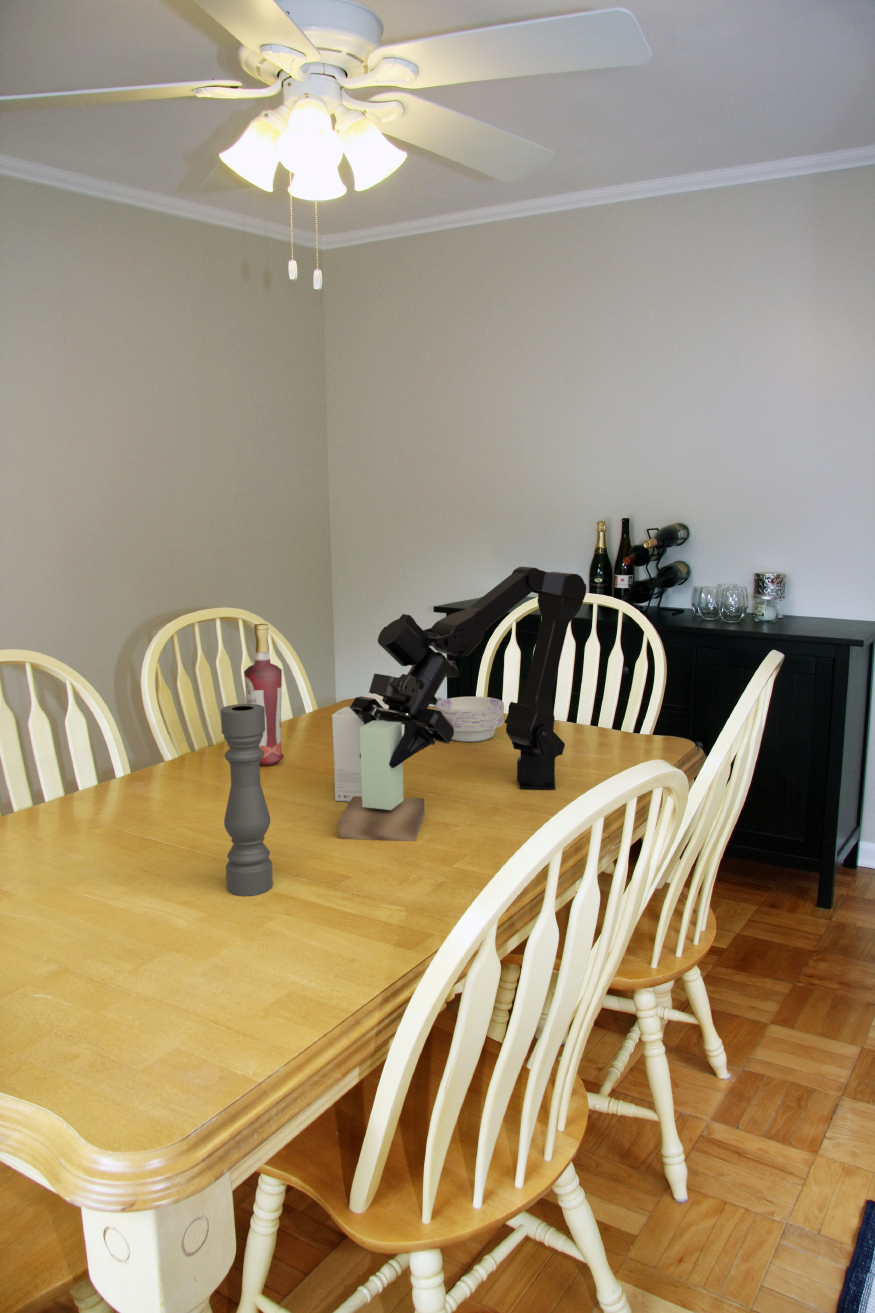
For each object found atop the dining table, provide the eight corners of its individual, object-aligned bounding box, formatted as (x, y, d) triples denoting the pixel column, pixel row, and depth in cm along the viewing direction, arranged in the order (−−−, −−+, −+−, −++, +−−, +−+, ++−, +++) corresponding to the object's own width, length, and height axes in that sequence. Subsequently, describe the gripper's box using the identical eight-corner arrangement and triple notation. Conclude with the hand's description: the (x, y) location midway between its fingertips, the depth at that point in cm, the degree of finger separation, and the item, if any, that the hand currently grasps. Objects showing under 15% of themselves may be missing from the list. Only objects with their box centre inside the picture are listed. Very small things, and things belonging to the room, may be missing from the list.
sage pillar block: (403, 800, 154) (401, 722, 152) (391, 810, 150) (388, 729, 148) (375, 797, 156) (373, 720, 154) (362, 807, 152) (359, 727, 149)
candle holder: (251, 900, 126) (243, 715, 122) (217, 890, 129) (208, 710, 125) (282, 883, 131) (276, 706, 127) (248, 874, 134) (241, 701, 130)
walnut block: (424, 815, 159) (424, 798, 158) (415, 841, 147) (415, 822, 147) (353, 813, 160) (353, 796, 160) (338, 838, 148) (338, 820, 148)
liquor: (291, 764, 190) (286, 625, 185) (257, 770, 186) (251, 628, 181) (275, 756, 196) (270, 621, 191) (242, 762, 192) (236, 624, 187)
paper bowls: (431, 730, 217) (431, 696, 215) (497, 728, 218) (497, 694, 217) (438, 747, 202) (438, 710, 201) (509, 745, 203) (509, 708, 202)
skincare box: (368, 804, 165) (366, 716, 162) (331, 801, 166) (329, 714, 164) (380, 789, 173) (379, 705, 171) (346, 787, 174) (344, 704, 172)
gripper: (356, 648, 158) (308, 725, 152) (441, 660, 146) (393, 745, 140) (390, 687, 165) (345, 762, 159) (474, 701, 153) (429, 784, 147)
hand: (376, 762), depth 151 cm, fingers closed on sage pillar block, 6 cm apart
